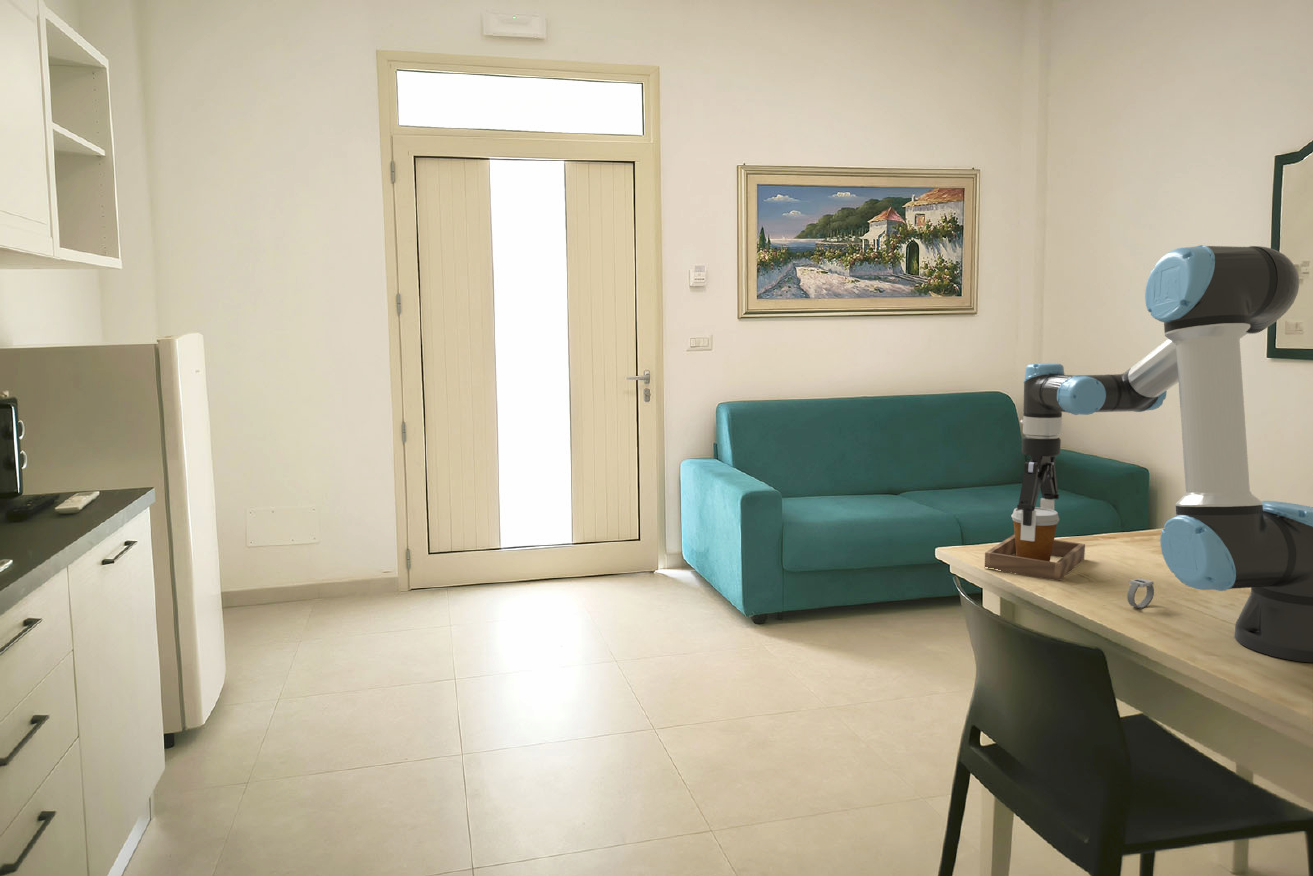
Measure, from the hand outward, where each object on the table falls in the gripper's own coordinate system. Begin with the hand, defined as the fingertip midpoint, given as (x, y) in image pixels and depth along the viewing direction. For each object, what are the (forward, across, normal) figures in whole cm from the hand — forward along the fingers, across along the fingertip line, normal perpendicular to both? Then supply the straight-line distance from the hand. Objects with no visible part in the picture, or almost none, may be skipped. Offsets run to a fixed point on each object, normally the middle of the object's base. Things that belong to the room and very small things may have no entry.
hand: (1037, 534), depth 190 cm
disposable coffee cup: (+7, +2, 0) cm, 7 cm away
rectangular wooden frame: (+7, 0, 0) cm, 7 cm away
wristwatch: (+7, +18, +23) cm, 30 cm away
